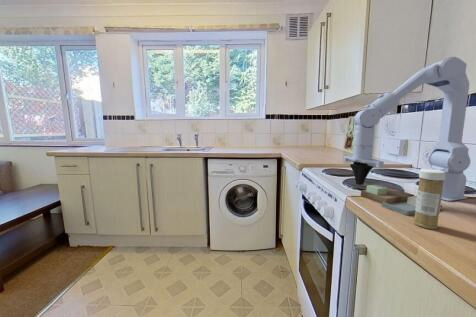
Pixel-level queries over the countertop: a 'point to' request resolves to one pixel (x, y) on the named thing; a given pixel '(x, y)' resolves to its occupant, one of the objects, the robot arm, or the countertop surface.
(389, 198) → the walnut board
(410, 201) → the cream tile
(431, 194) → the sprinkles bottle
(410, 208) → the tray
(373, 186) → the green tile
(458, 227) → the countertop surface
